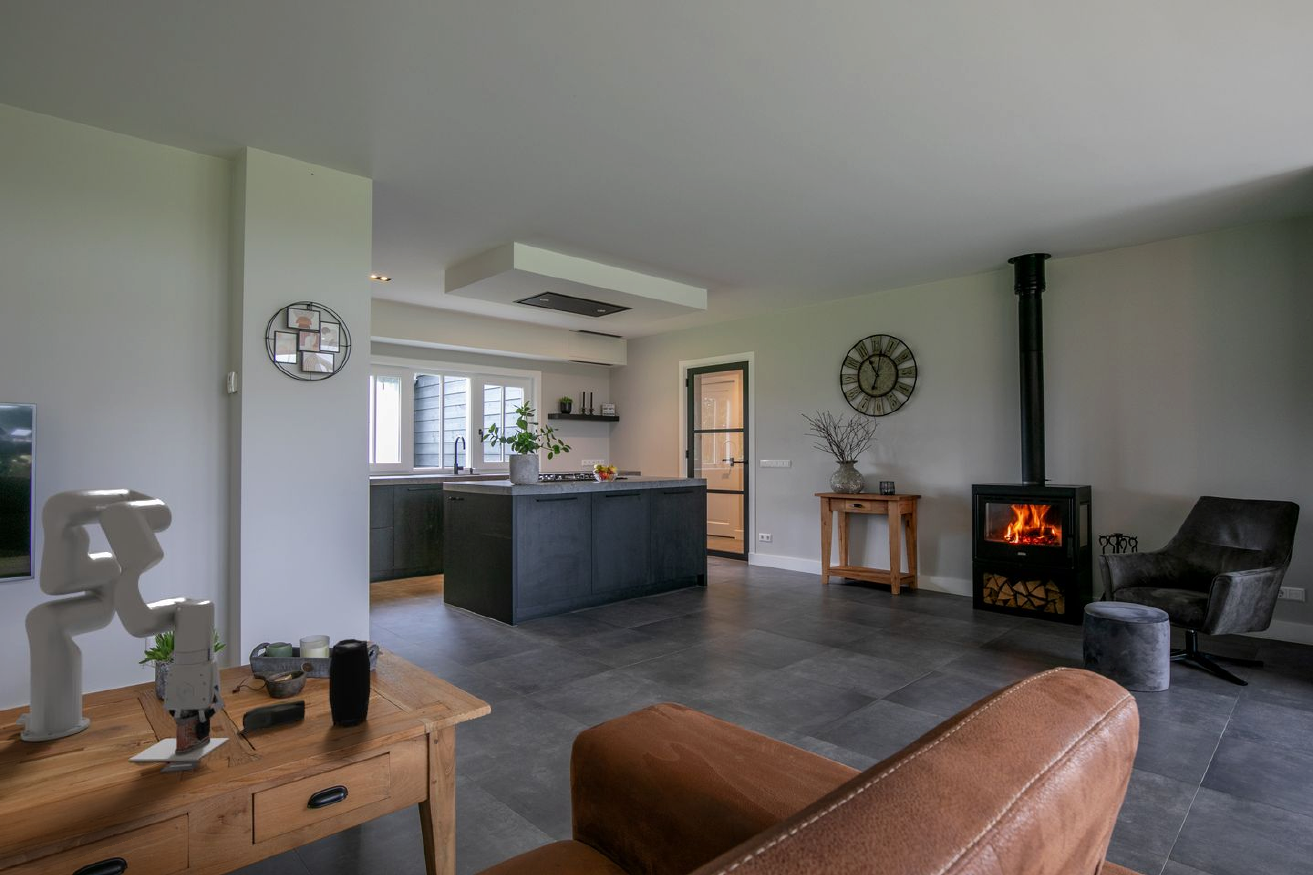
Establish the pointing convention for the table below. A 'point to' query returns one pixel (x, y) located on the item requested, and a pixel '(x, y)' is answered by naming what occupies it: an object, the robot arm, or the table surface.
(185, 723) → the lighter
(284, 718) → the dark elongated piece
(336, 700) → the portable speaker
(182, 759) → the paper
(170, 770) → the plate
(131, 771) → the table surface
